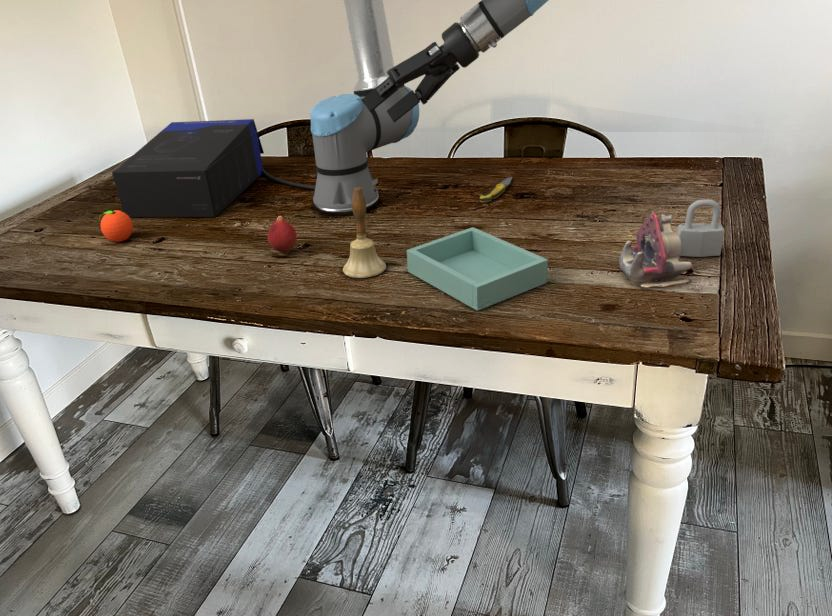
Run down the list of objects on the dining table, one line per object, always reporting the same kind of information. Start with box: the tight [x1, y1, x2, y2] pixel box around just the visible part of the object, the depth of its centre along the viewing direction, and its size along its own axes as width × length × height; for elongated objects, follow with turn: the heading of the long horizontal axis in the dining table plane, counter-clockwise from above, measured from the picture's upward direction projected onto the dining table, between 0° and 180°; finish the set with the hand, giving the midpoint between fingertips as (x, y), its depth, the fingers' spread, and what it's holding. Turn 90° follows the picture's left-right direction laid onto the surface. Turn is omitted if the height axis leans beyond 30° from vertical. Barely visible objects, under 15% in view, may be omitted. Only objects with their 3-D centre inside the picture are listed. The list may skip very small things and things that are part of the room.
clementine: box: [98, 209, 134, 243], centre depth 166 cm, size 8×7×7 cm
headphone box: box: [111, 118, 265, 218], centre depth 188 cm, size 25×35×14 cm
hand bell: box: [342, 187, 387, 279], centre depth 138 cm, size 8×8×16 cm
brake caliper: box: [618, 211, 693, 289], centre depth 126 cm, size 11×11×12 cm
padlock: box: [676, 198, 725, 258], centre depth 130 cm, size 7×4×10 cm, turn 78°
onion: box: [267, 215, 298, 255], centre depth 150 cm, size 6×6×8 cm
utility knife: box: [479, 176, 513, 203], centre depth 170 cm, size 16×1×3 cm
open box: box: [406, 226, 549, 312], centre depth 133 cm, size 20×15×4 cm
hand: (378, 111), depth 144 cm, fingers open, 13 cm apart
